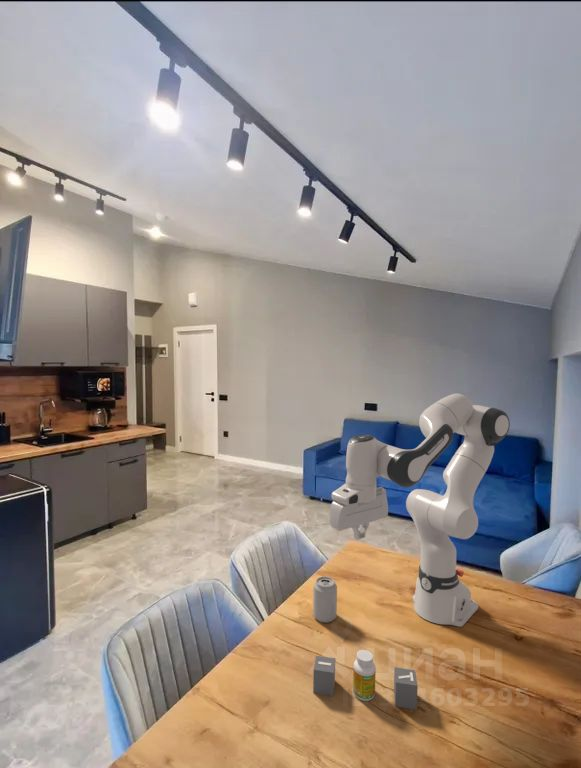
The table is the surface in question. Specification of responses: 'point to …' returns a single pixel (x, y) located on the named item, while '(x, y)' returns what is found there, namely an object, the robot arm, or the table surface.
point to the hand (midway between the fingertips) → (359, 538)
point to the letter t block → (405, 688)
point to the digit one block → (324, 675)
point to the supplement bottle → (364, 676)
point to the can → (325, 599)
